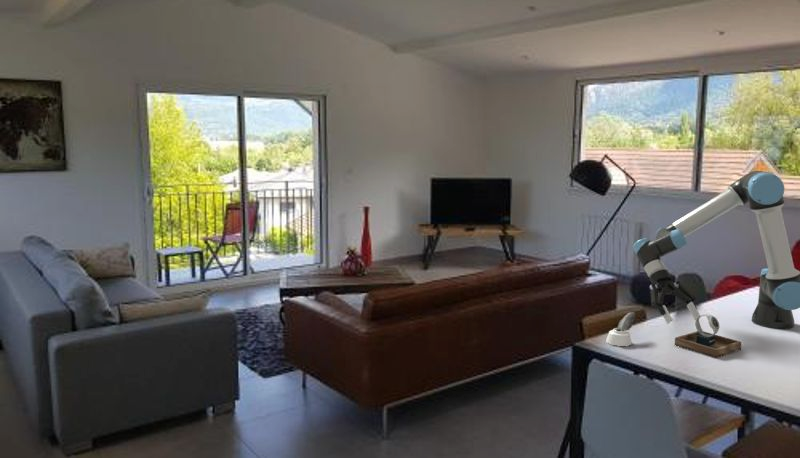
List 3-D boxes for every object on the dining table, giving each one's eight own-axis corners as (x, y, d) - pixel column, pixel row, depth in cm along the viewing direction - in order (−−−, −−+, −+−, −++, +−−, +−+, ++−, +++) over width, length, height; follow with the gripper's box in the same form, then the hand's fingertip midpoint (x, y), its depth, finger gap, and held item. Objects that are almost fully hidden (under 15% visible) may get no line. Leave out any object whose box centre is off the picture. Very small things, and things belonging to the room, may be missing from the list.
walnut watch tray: (699, 337, 240) (699, 330, 240) (740, 349, 227) (741, 341, 227) (674, 345, 231) (675, 337, 231) (716, 358, 218) (716, 350, 218)
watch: (713, 348, 226) (715, 318, 224) (691, 342, 232) (693, 314, 230) (720, 344, 229) (722, 316, 228) (698, 339, 235) (700, 311, 234)
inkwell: (601, 343, 234) (603, 317, 233) (620, 331, 248) (622, 307, 246) (626, 348, 228) (627, 322, 227) (644, 336, 242) (645, 311, 240)
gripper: (676, 276, 258) (703, 321, 246) (627, 281, 249) (652, 328, 237) (687, 266, 252) (715, 311, 240) (637, 270, 243) (663, 318, 232)
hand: (684, 320), depth 239 cm, fingers open, 13 cm apart
